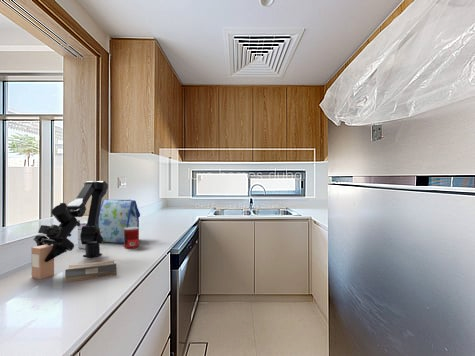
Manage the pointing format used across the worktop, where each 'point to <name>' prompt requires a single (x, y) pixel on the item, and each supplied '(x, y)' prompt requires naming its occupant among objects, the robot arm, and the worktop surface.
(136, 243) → the canned food
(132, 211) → the lunch bag
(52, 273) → the carton
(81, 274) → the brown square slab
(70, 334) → the worktop surface
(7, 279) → the worktop surface
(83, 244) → the syrup box
